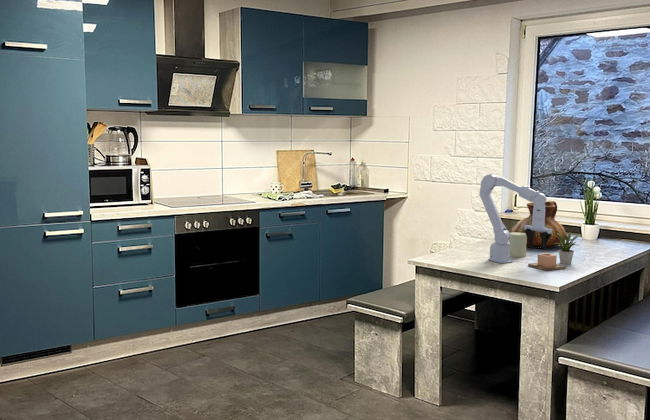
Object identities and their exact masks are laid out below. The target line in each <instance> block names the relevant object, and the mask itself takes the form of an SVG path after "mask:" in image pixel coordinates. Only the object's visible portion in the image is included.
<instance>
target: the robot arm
mask: <svg viewBox="0 0 650 420" xmlns="http://www.w3.org/2000/svg"><path fill="white" fill-rule="evenodd" d="M495 187H505V188H507V189H508V190H511V191H513V192H515V193H517V194H518V196H519V197H520V198H522V199H524V200H526V201H528V202H529V203H532V202H533V204H534V208H533V218H532V226H530V225H525V228H524V229H526V231H525V234H526V236H527V239H528V244H529V245H532V244H533V236H534V233H535V231H539V232H543V233H540V234H541V240H542V243H541V247H542V248H541V249H543V248H544V247H546V244H547V241H548V239H549V237H550V236H551V233H552V229H548V228H545V227H544V224H545V203H546V202H547V201H548V200H547V196H546V195H545V194H544V193H543V192H539V190H537V191H536V190H534V189H532V188H531V186H530V185H523V186H520V185H519V184H517V183H515V182H513V181H511V180H509V179H507V178H505V177H503V176H501V175H497V174H495V173H489V174H486V175H484V177H483V178H482V179H481V180H480V188H479V193H478V194H479V197H480V199H481V202H482V204H483V206H484V210H485V211H486V214H487V216H488V218H489V220H490V221H489V222H490V223H491V226H492V229H493V234H494V242H492V243H491V245H490V246H489V258H488V259H487V260H488V261H491V262H495V263H499V264H506V263H513V262H514V260H510V256H509V251H510V243H509V239H510V237H511V234H510V233H511V231H509V230H508V229H507V227H506V226H505V224H504V223H503V221H502V219H501V216H500V214H499V212H498V209H497V206H496V204H495V202H494V200H493V197H492V195H491V194H492V192H493V189H494V188H495Z"/></svg>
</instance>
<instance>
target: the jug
mask: <svg viewBox="0 0 650 420" xmlns="http://www.w3.org/2000/svg"><path fill="white" fill-rule="evenodd" d="M526 206H527V210H528V212H529V215H528V216H527V217H526V218H523V219H521V220H519V221H517V222H516V223H515V225H513V227H512V228H511V231H510V233H511V232H520V233H525V231H526V229H524V228H525V225H530V226H532V218H533V208H534V204H533V202H527V203H526ZM557 211H558V204H557V202H556V201H553V200H546V203H545V224H544V227H545V228H548V229H552V233H551V236H550V237H549V239H548V241H547V244H546V247H544V248H547V249H554V248H556V247H557V246H559V245H558V244H556V243H560V242H561V241H560V240H559V239H560V237H559V235H558V234H560V235H561V237H562V238H563V236H564V239H565V241H566V235H565V231H566V229H565V227H564V226H563V225H562V224H561V223H560V222H559V221H557V220H556V219H555V218H556V214H557ZM556 232H557V233H558V234H557V233H556ZM540 233H543V232H539V231H535V233H534V236H533V244H532V245H529V244H528V239H527V242H526V248H533V249H543V248H542V247H541V243H542V240H541V234H540ZM566 234H567V232H566ZM567 235H568V234H567ZM557 236H558V237H559V238H558V237H557ZM563 241H564V240H563Z"/></svg>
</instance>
